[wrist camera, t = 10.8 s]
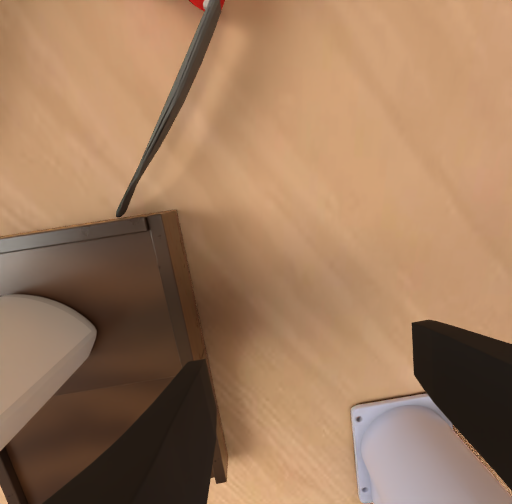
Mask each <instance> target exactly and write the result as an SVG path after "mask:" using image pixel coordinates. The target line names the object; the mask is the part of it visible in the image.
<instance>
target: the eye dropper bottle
mask: <svg viewBox="0 0 512 504" xmlns="http://www.w3.org/2000/svg"><path fill="white" fill-rule="evenodd" d="M96 334H97V330H96V328H95V326H94V325H93V324H92V323H91V322H90V321H89V320H88V319H86V318H85V317H84V316H82V315H81V314H80V313H78V312H77V311H75V310H73V309H72V308H70V307H68V306H66V305H64V304H62V303H59V302H57V301H54V300H51V299H47V298H43V297H39V296H33V295H24V294H11V295H4V296H1V297H0V451H1V450H2V449H3V448H4V447H5V446H6V445H7V444H8V443H9V441H10V440H11V439H12V438H13V437H14V436H15V435H16V434H17V433H18V432H19V431H20V430H21V429H22V428H23V427H24V426H25V425H26V423H27V422H28V421H29V420H30V419H31V418H32V417H33V416H34V415H35V414H36V413H37V412H38V411H39V410H40V409H41V408H42V406H43V405H44V404H45V403H46V402H47V401H48V400H49V399H50V398H51V397H52V396H53V395H54V394H55V393H56V391H57V390H58V389H59V388H60V387H61V386H62V385H63V384H64V383H65V382H66V381H67V380H68V379H69V378H70V376H71V375H72V374H73V373H74V372H75V371H76V370H77V369H78V368H79V367H80V366H81V365H82V364H83V362H84V361H85V360H86V359H87V358H88V357H89V355H90V352H91V350H92V347H93V345H94V342H95V339H96Z"/></svg>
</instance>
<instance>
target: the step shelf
mask: <svg viewBox="0 0 512 504" xmlns="http://www.w3.org/2000/svg"><path fill="white" fill-rule="evenodd" d="M11 294H24V295H33V296H39V297H43V298H47V299H51V300H54V301H57V302H59V303H62V304H64V305H66V306H68V307H70V308H72V309H73V310H75V311H77V312H78V313H80V314H81V315H82V316H84V317H85V318H86V319H88V320H89V321H90V322H91V323H92V324H93V325H94V326H95V328H96V330H97V334H96V339H95V342H94V345H93V347H92V350H91V352H90V355H89V357H88V358H87V359H86V360H85V361H84V362H83V364H82V365H81V366H80V367H79V368H78V369H77V370H76V371H75V372H74V373H73V374H72V375H71V376H70V378H69V379H68V380H67V381H66V382H65V383H64V384H63V385H62V386H61V387H60V388H59V389H58V390H57V391H56V393H55V394H54V395H53V396H52V397H51V398H50V399H49V400H48V401H47V402H46V403H45V404H44V405H43V406H42V408H41V409H40V410H39V411H38V412H37V413H36V414H35V415H34V416H33V417H32V418H31V419H30V420H29V421H28V422H27V423H26V425H25V426H24V427H23V428H22V429H21V430H20V431H19V432H18V433H17V434H16V435H15V436H14V437H13V438H12V439H11V440H10V441H9V443H8V444H7V445H6V446H5V447H4V448H3V449H2V450H1V451H0V486H1V488H2V490H3V493H4V495H5V497H6V500H7V502H8V504H42V503H43V502H44V501H46V500H47V499H48V498H50V497H51V496H52V495H53V494H54V493H56V492H57V491H58V490H59V489H61V488H62V487H63V486H64V485H66V484H67V483H68V482H69V481H70V480H72V479H73V478H74V477H75V476H77V475H78V474H79V473H80V472H82V471H83V470H84V469H85V468H86V467H88V466H89V465H90V464H91V463H92V462H93V461H95V460H96V459H97V458H98V457H99V456H100V455H101V454H102V453H103V452H104V451H106V450H107V449H108V448H109V447H110V446H111V445H112V444H113V443H114V442H115V441H116V440H117V439H118V438H119V437H120V436H122V435H123V434H124V433H125V432H126V431H127V430H128V429H129V427H130V426H131V425H132V424H133V423H134V422H135V421H136V420H137V419H138V418H139V417H140V416H141V415H142V414H143V413H144V412H145V411H146V409H147V408H148V407H149V406H150V405H151V404H152V403H153V402H154V401H155V400H156V398H157V397H158V396H159V395H160V394H161V393H162V392H163V390H164V389H165V388H166V387H167V386H168V385H169V383H170V382H171V381H172V380H173V379H174V377H175V376H176V375H177V374H178V373H179V371H180V370H181V369H182V368H183V367H184V366H185V364H186V363H187V362H189V361H195V360H201V359H206V363H207V367H208V372H209V376H210V381H211V385H212V390H213V394H214V399H215V403H216V407H217V427H216V444H215V451H214V458H213V465H212V472H211V478H213V477H215V480H216V484H218V483H223V482H227V466H228V454H227V449H226V444H225V439H224V435H223V430H222V425H221V420H220V415H219V411H218V406H217V401H216V396H215V392H214V387H213V382H212V377H211V372H210V368H209V363H208V358H207V353H206V348H205V344H204V339H203V334H202V330H201V325H200V320H199V315H198V310H197V306H196V301H195V296H194V291H193V287H192V282H191V277H190V272H189V267H188V263H187V258H186V253H185V248H184V243H183V239H182V234H181V229H180V224H179V220H178V215H177V210H169V211H164V212H156V213H150V214H143V215H137V216H130V217H124V218H117V219H111V220H104V221H98V222H91V223H85V224H78V225H72V226H65V227H59V228H52V229H46V230H39V231H33V232H26V233H20V234H13V235H7V236H0V297H1V296H4V295H11Z"/></svg>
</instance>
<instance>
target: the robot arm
mask: <svg viewBox="0 0 512 504" xmlns="http://www.w3.org/2000/svg"><path fill="white" fill-rule="evenodd" d="M412 339H413V362H414V375H415V377H416V378H417V380H418V381H419V383H420V384H421V386H422V387H423V389H424V390H425V391H426V393H425V394H420V395H414V396H408V397H402V398H396V399H390V400H384V401H378V402H372V403H366V404H360V405H355V406H353V407H352V409H351V419H352V430H353V441H354V452H355V463H356V474H357V485H358V496H359V499H360V501H361V502H362V503H371V502H373V503H374V504H512V496H511V495H510V494H509V493H508V491H507V490H506V489H505V488H504V487H503V486H502V485H501V484H500V482H499V481H498V480H497V479H496V478H495V477H494V476H493V475H492V473H491V472H490V471H489V470H488V469H487V468H486V467H485V466H484V464H483V463H482V462H481V461H480V460H479V459H478V458H477V457H476V455H475V454H474V453H473V452H472V451H471V450H470V449H469V448H468V446H467V445H466V444H465V443H464V442H463V441H462V440H461V439H460V437H459V436H458V435H457V434H456V433H455V432H454V431H453V425H454V426H455V427H456V428H457V429H458V431H459V432H460V433H461V434H462V435H463V436H464V437H465V438H466V439H467V440H468V442H469V443H470V444H471V445H472V446H473V447H474V448H475V449H476V450H477V452H478V453H479V454H480V455H481V456H482V457H483V458H484V459H485V460H486V462H487V463H488V464H489V465H490V466H491V467H492V468H493V469H494V470H495V472H496V473H497V474H498V475H499V476H500V477H501V479H502V480H503V481H504V482H505V483H506V485H507V486H508V487H509V488H510V489H511V491H512V344H510V343H506V342H503V341H500V340H497V339H493V338H490V337H487V336H484V335H481V334H477V333H474V332H471V331H468V330H465V329H461V328H458V327H455V326H452V325H448V324H445V323H441V322H437V321H433V320H425V321H419V322H413V323H412ZM359 416H360V417H359ZM357 417H359V418H357ZM216 427H217V407H216V403H215V399H214V394H213V390H212V385H211V381H210V376H209V372H208V367H207V363H206V359H201V360H195V361H189V362H187V363H186V364H185V366H184V367H183V368H182V369H181V370H180V371H179V373H178V374H177V375H176V376H175V377H174V379H173V380H172V381H171V382H170V383H169V385H168V386H167V387H166V388H165V389H164V390H163V392H162V393H161V394H160V395H159V396H158V397H157V398H156V400H155V401H154V402H153V403H152V404H151V405H150V406H149V407H148V408H147V409H146V411H145V412H144V413H143V414H142V415H141V416H140V417H139V418H138V419H137V420H136V421H135V422H134V423H133V424H132V425H131V426H130V427H129V429H128V430H127V431H126V432H125V433H124V434H123V435H122V436H120V437H119V438H118V439H117V440H116V441H115V442H114V443H113V444H112V445H111V446H110V447H109V448H108V449H107V450H106V451H104V452H103V453H102V454H101V455H100V456H99V457H98V458H97V459H96V460H95V461H93V462H92V463H91V464H90V465H89V466H88V467H86V468H85V469H84V470H83V471H82V472H80V473H79V474H78V475H77V476H75V477H74V478H73V479H72V480H70V481H69V482H68V483H67V484H66V485H64V486H63V487H62V488H61V489H59V490H58V491H57V492H56V493H54V494H53V495H52V496H51V497H50V498H48V499H47V500H46V501H44V502H43V503H42V504H207V498H208V492H209V485H210V478H211V472H212V465H213V458H214V451H215V444H216Z"/></svg>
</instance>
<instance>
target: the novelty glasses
mask: <svg viewBox="0 0 512 504" xmlns="http://www.w3.org/2000/svg"><path fill="white" fill-rule="evenodd" d="M189 1H190V2H191V3H192V4H194V5H195V6H197V7H198V8H200V9H201V10H203V11H205V12H204V14H203V17H202V19H201V21H200V24H199V26H198V28H197V31H196V33H195V35H194V38H193V40H192V42H191V45H190V47H189V49H188V52H187V54H186V56H185V59H184V61H183V63H182V66H181V68H180V70H179V73H178V75H177V78H176V80H175V82H174V85H173V87H172V89H171V92H170V94H169V96H168V99H167V101H166V103H165V106H164V108H163V110H162V113H161V115H160V117H159V120H158V122H157V124H156V127H155V129H154V131H153V134H152V136H151V138H150V141H149V143H148V145H147V148H146V150H145V152H144V155H143V157H142V159H141V162H140V164H139V166H138V168H137V170H136V172H135V174H134V176H133V179H132V181H131V183H130V185H129V187H128V189H127V191H126V193H125V195H124V197H123V199H122V201H121V203H120V205H119V207H118V210H117V212H116V217H121V216H122V215H123V214H124V213H125V212H126V210H127V208H128V205H129V203H130V200H131V198H132V195H133V193H134V190H135V188H136V185H137V183H138V182H139V180H140V178H141V176H142V175H143V173H144V171H145V170H146V168H147V167H148V165H149V163H150V162H151V160H152V159H153V157H154V155H155V154H156V152H157V151H158V149H159V147H160V146H161V144H162V142H163V140H164V139H165V137H166V135H167V133H168V131H169V130H170V128H171V126H172V124H173V122H174V120H175V118H176V117H177V115H178V113H179V111H180V109H181V107H182V105H183V103H184V101H185V99H186V97H187V94H188V92H189V90H190V88H191V85H192V83H193V81H194V79H195V77H196V74H197V72H198V70H199V68H200V65H201V63H202V61H203V58H204V56H205V53H206V51H207V48H208V46H209V43H210V40H211V38H212V35H213V33H214V30H215V27H216V24H217V22H218V19H219V16H220V13H221V10H222V7H223V5H224V2H225V0H189Z"/></svg>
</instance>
